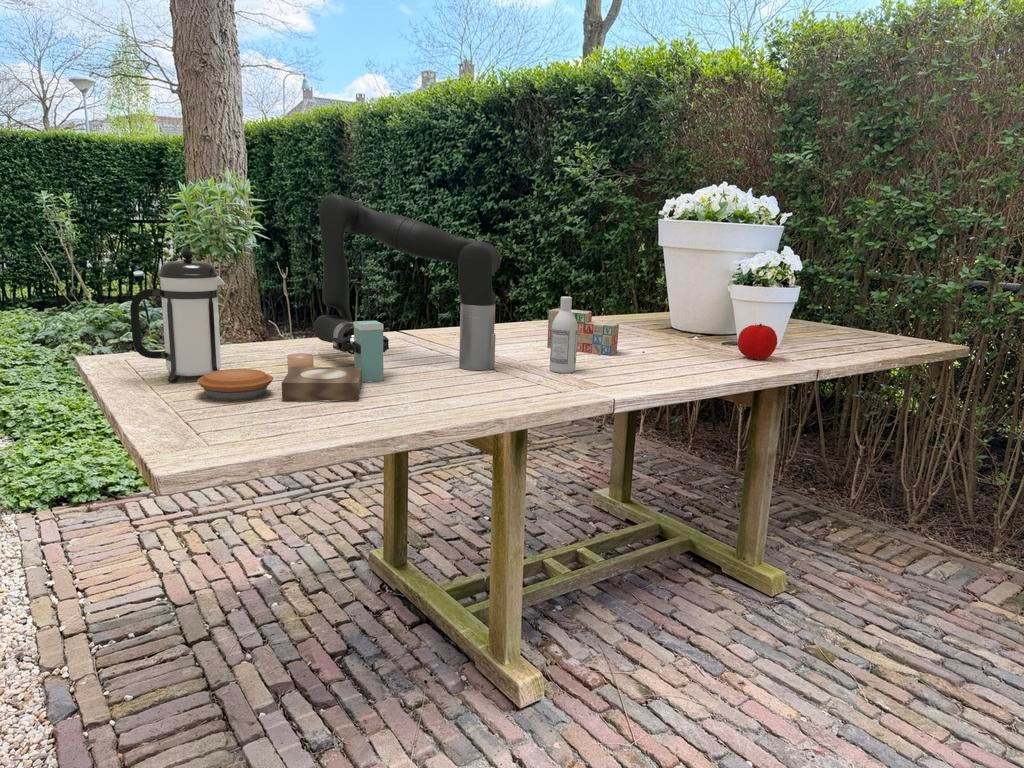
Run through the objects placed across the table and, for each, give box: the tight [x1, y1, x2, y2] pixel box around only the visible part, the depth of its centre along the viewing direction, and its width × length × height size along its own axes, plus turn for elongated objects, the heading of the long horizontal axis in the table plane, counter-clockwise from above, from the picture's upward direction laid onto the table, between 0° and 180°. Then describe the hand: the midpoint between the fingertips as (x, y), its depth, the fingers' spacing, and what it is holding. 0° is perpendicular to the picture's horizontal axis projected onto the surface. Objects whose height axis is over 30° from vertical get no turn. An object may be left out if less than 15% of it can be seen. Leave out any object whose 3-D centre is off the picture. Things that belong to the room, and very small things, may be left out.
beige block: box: [286, 352, 315, 373], centre depth 176 cm, size 6×6×6 cm
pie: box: [197, 368, 274, 402], centre depth 161 cm, size 15×16×5 cm
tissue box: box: [281, 366, 363, 402], centre depth 165 cm, size 16×16×4 cm
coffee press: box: [129, 249, 226, 384], centre depth 171 cm, size 17×16×30 cm
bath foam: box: [549, 296, 578, 374], centre depth 196 cm, size 7×7×20 cm
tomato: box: [737, 323, 778, 360], centre depth 227 cm, size 12×12×11 cm
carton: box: [353, 320, 384, 383], centre depth 178 cm, size 6×6×14 cm
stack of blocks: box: [546, 308, 620, 356], centre depth 229 cm, size 21×6×12 cm, turn 63°
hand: (372, 348), depth 176 cm, fingers closed on carton, 5 cm apart
